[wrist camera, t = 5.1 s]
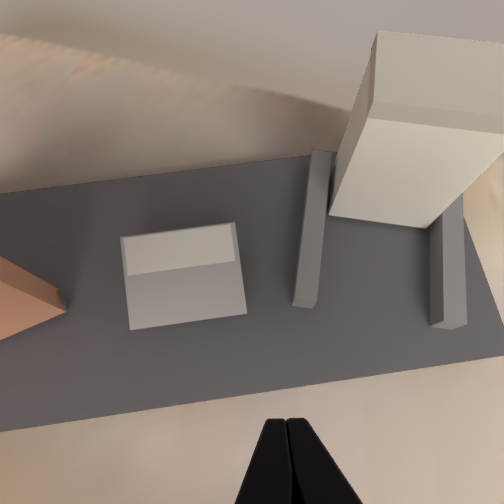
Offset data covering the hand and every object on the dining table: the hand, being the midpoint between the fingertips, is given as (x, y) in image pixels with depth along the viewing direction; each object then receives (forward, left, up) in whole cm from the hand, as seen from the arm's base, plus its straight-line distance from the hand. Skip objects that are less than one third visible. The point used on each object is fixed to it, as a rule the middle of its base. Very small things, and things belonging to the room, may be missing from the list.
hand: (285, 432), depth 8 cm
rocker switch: (+6, +4, -10) cm, 12 cm away
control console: (+6, +4, -12) cm, 14 cm away
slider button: (+11, -5, -10) cm, 16 cm away
